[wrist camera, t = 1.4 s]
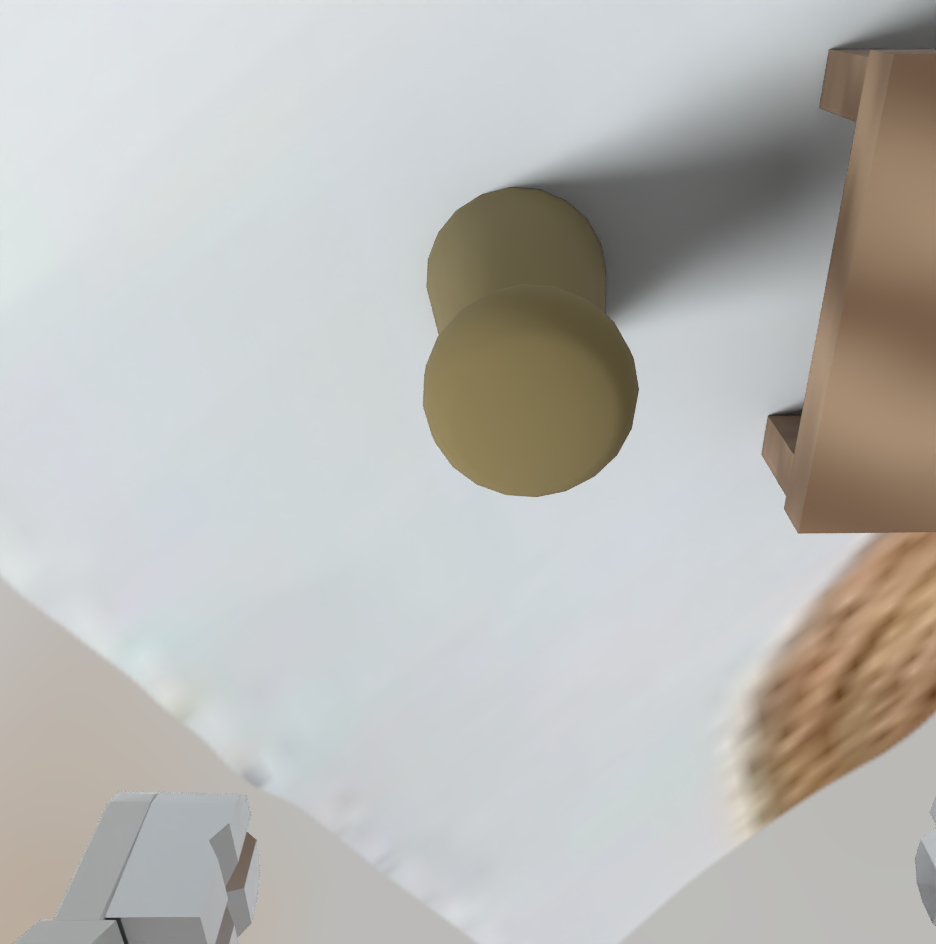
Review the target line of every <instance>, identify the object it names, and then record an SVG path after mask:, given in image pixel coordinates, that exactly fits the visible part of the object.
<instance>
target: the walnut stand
mask: <svg viewBox="0 0 936 944" xmlns="http://www.w3.org/2000/svg"><path fill="white" fill-rule="evenodd" d="M819 108H821V109H823V110H826V111H829V112H831V113H834V114H837V115H840V116H842V117H845V118H848V119H850V120H853V121H856V127H855V133H854V138H853V143H852V149H851V154H850V159H849V165H848V170H847V175H846V181H845V186H844V191H843V197H842V202H841V207H840V213H839V218H838V223H837V229H836V234H835V239H834V245H833V250H832V255H831V261H830V266H829V271H828V277H827V282H826V287H825V293H824V298H823V303H822V309H821V314H820V319H819V325H818V330H817V335H816V341H815V346H814V351H813V357H812V362H811V367H810V373H809V378H808V383H807V389H806V394H805V399H804V405H803V410H802V415H801V416H768V419H767V425H766V431H765V437H764V443H763V449H762V456H763V458H764V460H765V461H766V463H767V465H768V466H769V468H770V470H771V471H772V473H773V475H774V476H775V478H776V480H777V481H778V483H779V485H780V486H781V488H782V490H783V491H784V493H785V495H786V501H785V506H784V510H785V512H786V513H787V515H788V517H789V518H790V520H791V522H792V524H793V525H794V527H795V529H796V531H797V532H798V533H888V532H936V49H912V50H889V49H838V50H829V52H828V58H827V64H826V70H825V76H824V82H823V88H822V94H821V100H820V106H819Z"/></svg>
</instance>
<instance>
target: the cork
mask: <svg viewBox="0 0 936 944" xmlns="http://www.w3.org/2000/svg"><path fill="white" fill-rule="evenodd" d="M427 291H428V294H429V298H430V302H431V306H432V310H433V314H434V318H435V322H436V326H437V330H438V334H439V336H438V337H437V340H436V342H435V345H434V347H433V350H432V352H431V355H430V357H429V360H428V362H427V364H426V369H425V374H424V395H423V407H424V411H425V414H426V417H427V421H428V424H429V427H430V431H431V434H432V436H433V438H434V441H435V443H436V444H437V446H438V447H439V448H440V450H441V451H442V453H443V454H444V455H445V457H446V458H447V459H448V461H449V462H450V464H451V465H452V466H453V467H454V468H455V469H456V470H458V471H459V472H460V473H462V474H463V475H465V476H466V477H467V478H469V479H470V480H471V481H473V482H474V483H475V484H477V485H480V486H482V487H485V488H488V489H491V490H494V491H496V492H499V493H502V494H505V495H514V496H530V497H539V496H544V495H549V494H554V493H559V492H564V491H567V490H569V489H571V488H573V487H575V486H577V485H579V484H581V483H583V482H585V481H587V480H588V479H590V478H592V477H594V476H596V475H597V474H598V473H599V472H600V471H601V470H602V469H603V468H604V467H605V466H606V465H607V464H608V463H609V462H610V461H611V460H612V459H613V458H615V457H616V456H617V454H618V452H619V451H620V449H621V447H622V445H623V443H624V442H625V440H626V438H627V436H628V434H629V433H630V431H631V429H632V424H633V419H634V413H635V408H636V402H637V397H638V391H639V387H638V381H637V375H636V369H635V363H634V358H633V356H632V354H631V351H630V349H629V348H628V346H627V344H626V342H625V341H624V339H623V337H622V335H621V333H620V332H619V330H618V328H617V326H616V325H615V323H614V322H613V321H612V320H611V319H610V318H609V317H608V316H606V269H605V264H604V258H603V252H602V246H601V244H600V242H599V240H598V238H597V236H596V234H595V233H594V231H593V229H592V227H591V225H590V224H589V222H588V220H587V219H586V218H585V217H584V216H582V215H581V214H580V213H579V212H578V211H577V210H576V209H575V208H574V207H572V206H571V205H570V204H569V203H568V202H567V201H565V200H563V199H561V198H558V197H556V196H553V195H551V194H549V193H546V192H544V191H542V190H539V189H525V188H512V187H510V188H506V189H502V190H498V191H494V192H490V193H486V194H482V195H480V196H478V197H477V198H475V199H474V200H472V201H471V202H469V203H468V204H466V205H464V206H463V207H461V208H460V209H458V210H457V211H456V212H455V213H454V214H453V215H452V217H451V218H450V219H449V220H448V222H447V223H446V224H445V225H444V226H443V228H442V229H441V230H440V231H439V233H438V235H437V237H436V240H435V242H434V245H433V248H432V250H431V253H430V255H429V258H428V269H427Z"/></svg>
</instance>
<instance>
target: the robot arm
mask: <svg viewBox="0 0 936 944" xmlns="http://www.w3.org/2000/svg"><path fill="white" fill-rule="evenodd" d="M930 814H931V816H932V818H933V819H934V821H935V823H936V798H935V800H934V803H933V805H932V808H931V811H930ZM250 817H251V811H250V807H249V803H248V799H247V796H246V795H242V794H207V793H165V792H160V793H150V792H149V793H148V792H142V793H141V792H118V793H117V794H116V795H115V796H114V797H113V798H112V799H111V800H110V801H109V803H108V804H107V805H106V807H105V809H104V811H103V813H102V816H101V818H100V820H99V822H98V824H97V826H96V829H95V831H94V833H93V835H92V837H91V839H90V841H89V844H88V846H87V848H86V850H85V852H84V854H83V856H82V859H81V861H80V863H79V866H78V867H77V869H76V871H75V874H74V876H73V878H72V880H71V882H70V884H69V887H68V889H67V891H66V893H65V895H64V897H63V900H62V902H61V904H60V906H59V908H58V910H57V912H56V914H55V917H54V919H53V920H39V921H38V922H37V923H36V924H35V925H34V926H32V927H31V928H30V929H29V930H28V931H26V932H25V933H24V934H23V935H22V936H21V937H19V938H18V939H17V940H16V941H15V942H13V943H12V944H238V940H237V938H238V936H240V935H241V934H242V933H243V931H244V930H245V929H246V928H247V927H248V926H249V925H250V924H251V923H252V919H253V915H254V910H255V906H256V902H257V895H258V885H259V876H260V865H259V851H258V846H257V840H256V839H255V838H253V837H252V836H251V835H250V834H249V833H248V832H247V828H248V824H249V821H250ZM915 864H916V879H917V885H918V888H919V892H920V895H921V898H922V902H923V904H924V906H925V908H926V911H927V913H928V915H929V917H930V919H931V921H932V923H933V924H934V925H935V926H936V828H934V829H933V830H932V831H930V832H929V833H928V834H927V835H925V836H924V837H922V838H921V839H920V843H919V846H918V850H917V854H916V857H915Z"/></svg>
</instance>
